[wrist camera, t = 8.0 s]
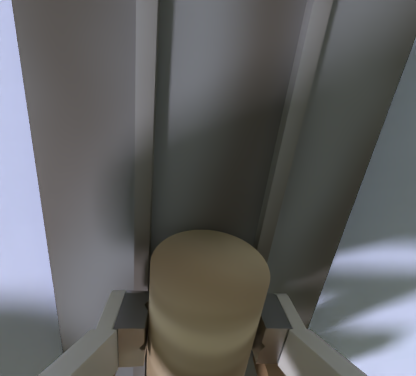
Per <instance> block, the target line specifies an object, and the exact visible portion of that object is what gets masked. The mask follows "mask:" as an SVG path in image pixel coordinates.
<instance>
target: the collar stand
mask: <svg viewBox="0 0 416 376" xmlns="http://www.w3.org/2000/svg"><path fill="white" fill-rule="evenodd" d="M12 7H13V14H14V21H15V27H16V34H17V41H18V48H19V55H20V61H21V68H22V75H23V82H24V89H25V96H26V102H27V109H28V116H29V123H30V130H31V137H32V143H33V150H34V157H35V164H36V171H37V177H38V184H39V191H40V198H41V205H42V212H43V218H44V225H45V232H46V239H47V246H48V253H49V259H50V266H51V273H52V280H53V287H54V293H55V300H56V307H57V314H58V321H59V328H60V334H61V341H62V348H63V353H64V352H65V351H67V350H68V349H69V348H70V347H71V346H72V345H73V344H75V343H76V342H77V341H78V340H79V339H80V338H82V337H83V336H84V335H85V334H86V333H87V332H89V331H90V330H93V329H96V326H97V324H98V322H99V319H100V317H101V314H102V312H103V310H104V307H105V305H106V302H107V300H108V298H109V295H110V293H111V292H112V290H134V291H149V284H150V261H151V256H152V254H153V252H154V250H155V249H156V247H157V246H158V245H159V244H160V243H161V242H162V241H163V240H165V239H166V238H168V237H170V236H172V235H174V234H177V233H180V232H184V231H189V230H213V231H219V232H223V233H227V234H230V235H233V236H235V237H238V238H240V239H242V240H244V241H245V242H247V243H249V244H250V245H251V246H253V247H254V248H255V249H256V250H257V251H258V252H259V253H260V254H261V255H262V256H263V258H264V259H265V261H266V263H267V265H268V267H269V271H270V284H269V288H268V291H267V293H273V294H274V293H286V294H287V295H288V296H289V298H290V300H291V302H292V303H293V305H294V307H295V309H296V311H297V312H298V314H299V316H300V318H301V320H302V322H303V323H304V325H305V327H306V329H308V326H309V323H310V321H311V318H312V315H313V312H314V310H315V307H316V304H317V302H318V299H319V296H320V294H321V291H322V288H323V285H324V283H325V280H326V277H327V275H328V272H329V269H330V267H331V264H332V261H333V258H334V256H335V253H336V250H337V248H338V245H339V242H340V240H341V237H342V234H343V232H344V229H345V226H346V223H347V221H348V218H349V215H350V213H351V210H352V207H353V205H354V202H355V199H356V196H357V194H358V191H359V188H360V186H361V183H362V180H363V178H364V175H365V172H366V169H367V167H368V164H369V161H370V159H371V156H372V153H373V151H374V148H375V145H376V143H377V140H378V137H379V134H380V132H381V129H382V126H383V124H384V121H385V118H386V116H387V113H388V110H389V107H390V105H391V102H392V99H393V97H394V94H395V91H396V89H397V86H398V83H399V80H400V78H401V75H402V72H403V70H404V67H405V64H406V62H407V59H408V56H409V54H410V51H411V48H412V45H413V43H414V40H415V37H416V0H12ZM147 341H148V336H147ZM146 369H147V348H146V354H145V359H144V365H143V366H137V367H119V368H118V370H117V371H116V373H115V374H114V375H113V376H146ZM244 376H286V375H285V374H284V373H283V371H282V370H281V369H280V368H279V366H278V364H256V362H255V358H254V354H253V351H252V350H251V353H250V357H249V360H248V364H247V368H246V371H245V375H244Z"/></svg>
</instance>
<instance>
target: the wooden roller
mask: <svg viewBox="0 0 416 376" xmlns="http://www.w3.org/2000/svg"><path fill="white" fill-rule="evenodd" d="M269 284H270V271H269V267H268V265H267V263H266V261H265V259H264V258H263V256H262V255H261V254H260V253H259V252H258V251H257V250H256V249H255V248H254V247H253V246H251V245H250V244H249V243H247V242H245V241H244V240H242V239H240V238H238V237H235V236H233V235H230V234H227V233H223V232H219V231H213V230H189V231H184V232H180V233H177V234H174V235H172V236H170V237H168V238H166V239H165V240H163V241H162V242H161V243H160V244H159V245H158V246H157V247H156V249H155V250H154V252H153V254H152V256H151V261H150V284H149V313H148V341H147V369H146V376H244V375H245V371H246V368H247V364H248V360H249V357H250V353H251V350H252V346H253V342H254V339H255V335H256V331H257V328H258V324H259V320H260V317H261V313H262V310H263V306H264V302H265V299H266V295H267V291H268V288H269Z"/></svg>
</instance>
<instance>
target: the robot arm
mask: <svg viewBox="0 0 416 376" xmlns="http://www.w3.org/2000/svg"><path fill="white" fill-rule="evenodd" d="M148 313H149V291H134V290H112V292H111V293H110V295H109V298H108V300H107V302H106V305H105V307H104V310H103V312H102V314H101V317H100V319H99V322H98V324H97V326H96V329H93V330H90V331H89V332H87V333H86V334H85V335H84V336H83V337H82V338H80V339H79V340H78V341H77V342H76V343H75V344H73V345H72V346H71V347H70V348H69V349H68V350H67V351H65V352H64V353H63V354H62V355H61V356H60V357H58V358H57V359H56V360H55V361H54V362H53V363H51V364H50V365H49V366H48V367H47V368H46V369H45V370H43V371H42V372H41V373H40V374H39V375H38V376H113V375H114V374H115V373H116V371H117V370H118V368H119V367H137V366H143V365H144V359H145V354H146V348H147V336H148ZM252 351H253V354H254V358H255V362H256V364H278V366H279V368H280V369H281V370H282V371H283V373H284V374H285V375H286V376H367V375H366V374H365V373H364V372H362V371H361V370H360V369H359V368H357V367H356V366H355V365H354V364H353V363H351V362H350V361H349V360H348V359H346V358H345V357H344V356H343V355H341V354H340V353H339V352H338V351H336V350H335V349H334V348H333V347H332V346H330V345H329V344H328V343H327V342H325V341H324V340H323V339H322V338H320V337H319V336H318V335H317V334H316V333H314V332H313V331H312V330H311V329H306V327H305V325H304V323H303V322H302V320H301V318H300V316H299V314H298V312H297V311H296V309H295V307H294V305H293V303H292V302H291V300H290V298H289V296H288V295H287V294H286V293H274V294H273V293H267V295H266V299H265V302H264V306H263V310H262V313H261V317H260V320H259V324H258V328H257V331H256V335H255V339H254V342H253V346H252Z"/></svg>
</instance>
